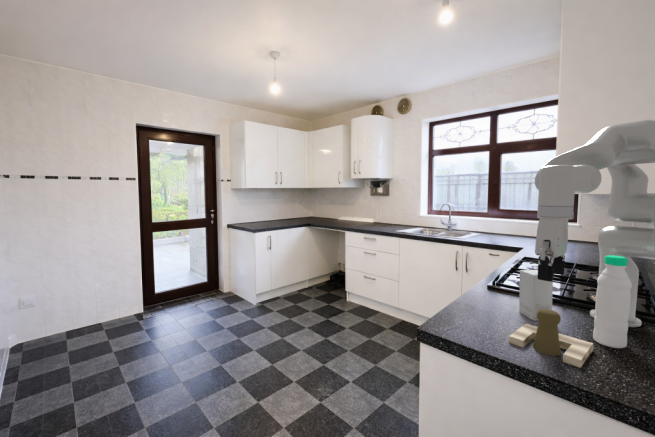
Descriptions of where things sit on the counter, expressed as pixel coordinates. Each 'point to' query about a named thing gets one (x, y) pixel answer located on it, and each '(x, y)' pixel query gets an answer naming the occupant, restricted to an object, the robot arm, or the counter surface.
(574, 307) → the counter surface
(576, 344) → the wooden u-shaped block
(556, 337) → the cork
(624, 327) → the water bottle
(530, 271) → the skincare box
